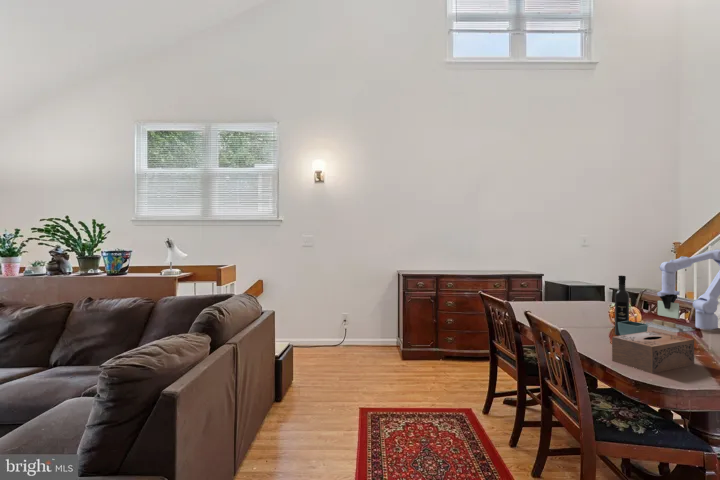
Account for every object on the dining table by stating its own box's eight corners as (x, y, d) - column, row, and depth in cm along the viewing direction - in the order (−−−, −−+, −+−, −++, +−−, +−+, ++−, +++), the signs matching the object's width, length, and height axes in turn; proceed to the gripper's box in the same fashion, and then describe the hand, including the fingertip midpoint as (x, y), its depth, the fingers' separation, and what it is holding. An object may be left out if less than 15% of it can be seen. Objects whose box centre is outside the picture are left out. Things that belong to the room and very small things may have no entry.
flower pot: (616, 340, 175) (616, 322, 175) (627, 338, 179) (627, 320, 179) (637, 345, 167) (637, 326, 167) (648, 343, 171) (648, 324, 171)
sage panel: (659, 314, 206) (659, 300, 206) (679, 318, 196) (679, 303, 196) (657, 314, 205) (657, 300, 205) (677, 318, 196) (677, 303, 196)
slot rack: (662, 325, 206) (662, 320, 206) (695, 332, 191) (695, 327, 191) (643, 327, 202) (643, 322, 202) (675, 334, 186) (675, 329, 186)
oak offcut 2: (666, 328, 195) (666, 321, 195) (675, 330, 191) (675, 323, 191) (663, 328, 195) (663, 321, 194) (673, 330, 190) (673, 323, 190)
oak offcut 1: (655, 325, 200) (655, 319, 200) (664, 327, 196) (664, 321, 196) (652, 326, 200) (652, 319, 200) (661, 328, 195) (661, 321, 195)
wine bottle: (628, 336, 182) (628, 276, 182) (614, 335, 186) (614, 275, 185) (629, 334, 187) (629, 275, 186) (615, 332, 190) (615, 275, 190)
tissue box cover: (653, 354, 156) (653, 330, 156) (694, 365, 143) (694, 339, 143) (612, 361, 147) (612, 336, 147) (651, 374, 133) (652, 346, 133)
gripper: (669, 282, 206) (669, 306, 207) (651, 283, 202) (651, 308, 202) (683, 283, 200) (683, 308, 200) (665, 285, 195) (665, 310, 195)
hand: (668, 308), depth 200 cm, fingers closed on sage panel, 1 cm apart
